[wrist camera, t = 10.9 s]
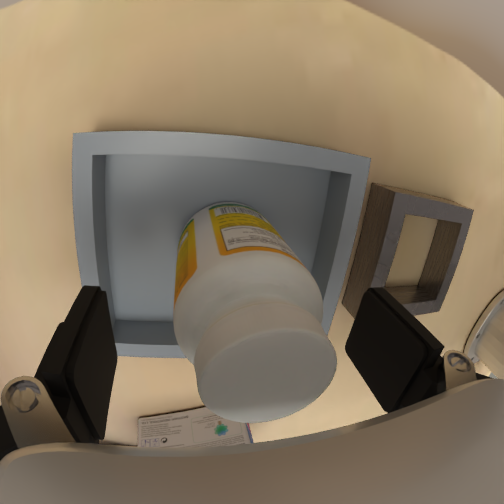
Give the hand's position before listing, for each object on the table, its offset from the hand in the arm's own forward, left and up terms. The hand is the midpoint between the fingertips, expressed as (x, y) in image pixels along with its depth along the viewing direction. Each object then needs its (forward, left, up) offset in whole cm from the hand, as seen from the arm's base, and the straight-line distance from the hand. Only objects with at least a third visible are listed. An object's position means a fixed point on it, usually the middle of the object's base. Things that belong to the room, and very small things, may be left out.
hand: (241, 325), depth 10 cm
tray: (0, 0, -8) cm, 8 cm away
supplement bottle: (0, 0, -7) cm, 7 cm away
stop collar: (-14, 0, -8) cm, 16 cm away
